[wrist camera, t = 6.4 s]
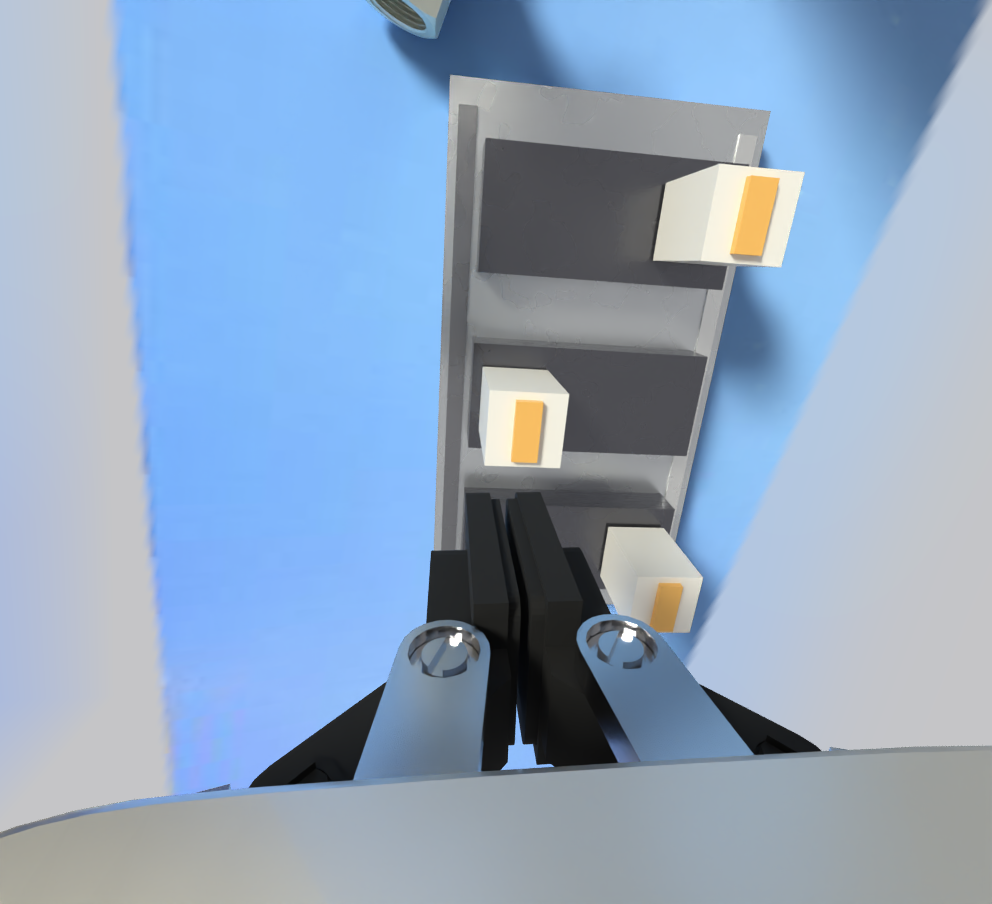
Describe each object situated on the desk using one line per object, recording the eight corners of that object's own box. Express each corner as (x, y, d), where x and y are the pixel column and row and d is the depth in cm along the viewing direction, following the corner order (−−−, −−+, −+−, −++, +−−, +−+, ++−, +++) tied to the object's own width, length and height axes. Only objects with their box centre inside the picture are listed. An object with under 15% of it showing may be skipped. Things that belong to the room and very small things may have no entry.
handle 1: (608, 526, 27) (640, 581, 22) (663, 527, 27) (706, 581, 22) (600, 575, 28) (629, 637, 23) (653, 576, 28) (692, 637, 23)
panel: (450, 89, 23) (450, 56, 19) (745, 122, 24) (799, 97, 20) (433, 582, 32) (430, 625, 28) (649, 585, 33) (674, 626, 29)
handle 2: (666, 182, 21) (724, 162, 16) (734, 189, 21) (810, 170, 17) (652, 260, 22) (704, 260, 18) (718, 265, 22) (786, 267, 18)
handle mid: (482, 366, 23) (490, 392, 19) (547, 370, 23) (571, 396, 19) (478, 429, 24) (485, 468, 20) (541, 432, 24) (561, 470, 20)
